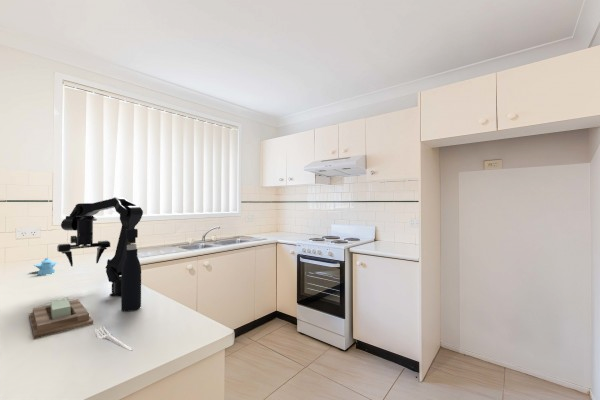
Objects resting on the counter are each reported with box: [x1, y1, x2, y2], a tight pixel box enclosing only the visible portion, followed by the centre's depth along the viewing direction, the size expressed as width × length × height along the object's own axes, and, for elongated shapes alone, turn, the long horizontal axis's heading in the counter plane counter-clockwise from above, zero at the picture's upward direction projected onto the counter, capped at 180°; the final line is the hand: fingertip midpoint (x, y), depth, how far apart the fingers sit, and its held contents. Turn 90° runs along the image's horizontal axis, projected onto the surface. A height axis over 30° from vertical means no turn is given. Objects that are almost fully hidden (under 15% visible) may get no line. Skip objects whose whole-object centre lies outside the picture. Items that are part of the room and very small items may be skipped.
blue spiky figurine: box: [33, 257, 58, 276], centre depth 163 cm, size 18×10×9 cm, turn 44°
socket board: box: [28, 299, 94, 339], centre depth 94 cm, size 25×14×3 cm, turn 47°
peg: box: [50, 297, 71, 319], centre depth 95 cm, size 12×4×4 cm, turn 44°
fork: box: [94, 325, 134, 352], centre depth 79 cm, size 3×20×2 cm, turn 57°
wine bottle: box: [120, 228, 142, 313], centre depth 105 cm, size 6×6×30 cm
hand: (84, 264), depth 127 cm, fingers open, 9 cm apart
